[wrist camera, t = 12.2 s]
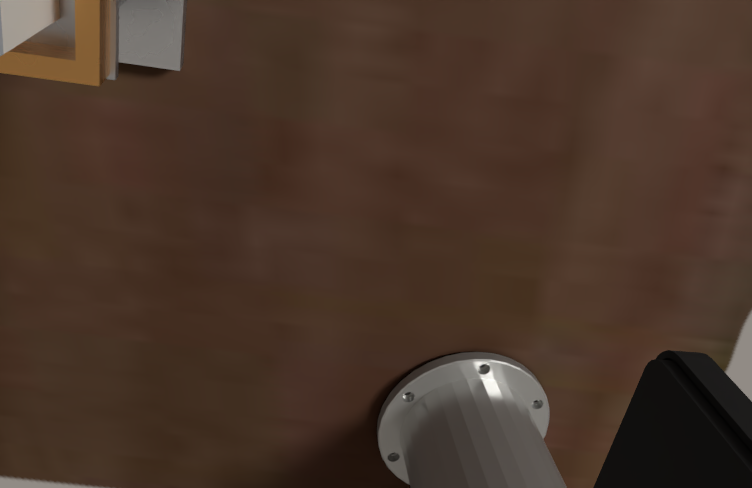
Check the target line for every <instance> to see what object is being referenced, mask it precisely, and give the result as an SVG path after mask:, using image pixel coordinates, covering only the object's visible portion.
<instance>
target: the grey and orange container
mask: <svg viewBox="0 0 752 488" xmlns="http://www.w3.org/2000/svg"><path fill="white" fill-rule="evenodd" d="M186 5H187V0H59V7H60V19H58V20H57V21H55V22H54V23H52V24H50V25H49V26H47V27H46V28H44V29H43V30H41V31H39V32H38V33H36V34H35V35H33V36H32V37H30V38H28V39H27V40H25V41H24V42H22V43H21V44H19V45H17V46H16V47H14V48H13V49H11V50H10V51H8V52H6V53H5V54H3V55H2V56H0V73H5V74H12V75H20V76H27V77H34V78H42V79H49V80H56V81H64V82H71V83H78V84H86V85H93V86H100V85H101V84H102V83H103V82H104V80H105V79H111V80H116V79H117V77H118V65H119V62H121V63H128V64H135V65H142V66H149V67H156V68H163V69H170V70H177V71H180V70H181V68H182V66H183V60H184V42H185V23H186Z"/></svg>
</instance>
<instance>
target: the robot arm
mask: <svg viewBox="0 0 752 488" xmlns="http://www.w3.org/2000/svg"><path fill="white" fill-rule="evenodd" d="M548 424H549V405H548V400H547V396H546V394H545V392H544V390H543V388H542V386H541V384H540V383H539V381H538V380H537V379H536V377H535V376H534V374H533V373H532V372H530V371H529V370H528V369H527V368H526V367H525V366H524V365H522V364H520V363H518V362H516V361H515V360H513V359H511V358H508V357H505V356H501V355H498V354H494V353H485V352H466V353H459V354H454V355H449V356H445V357H442V358H439V359H437V360H434V361H431V362H429V363H427V364H425V365H423V366H421V367H420V368H418V369H416V370H414V371H413V372H412V373H410V374H409V375H408V376H407V377H405V378H404V379H403V380H401V381H400V382H399V384H398V385H397V386H396V387H395V388H394V389H393V390H392V391H391V392H390V394H389V396H388V397H387V399H386V400H385V402H384V404H383V406H382V408H381V411H380V414H379V417H378V423H377V438H378V445H379V449H380V452H381V456H382V458H383V460H384V462H385V464H386V465H387V467H388V468H389V469H390V470H391V471H392V473H393V474H394V475H395V476H396V477H398V478H399V479H401V480H402V481H404V482H405V483H407V484H408V485H410V488H567V487H566V485H565V483H564V481H563V479H562V477H561V475H560V473H559V471H558V469H557V467H556V465H555V463H554V461H553V459H552V457H551V454H550V452H549V450H548V448H547V446H546V444H545V442H544V440H543V439H544V437H545V435H546V432H547V428H548ZM594 488H752V402H751V401H750V399H748V397H747V396H746V395H745V394H744V393H743V392H742V391H741V390H740V389H739V388H738V386H737V385H736V384H735V383H734V382H733V381H732V380H731V379H730V378H729V377H728V376H727V375H726V374H725V372H724V371H723V370H722V369H721V368H720V367H719V366H718V365H717V364H716V363H715V362H714V361H713V359H712V358H710V357H709V356H708V355H706V354H703V353H696V352H683V351H670V350H668V351H664V352H662V353H661V354H659V355H658V356H657V358H656V359H655V360H651V361H650V362H649V363H648V364H647V366H646V367H645V369H644V372H643V374H642V376H641V379H640V381H639V383H638V386H637V388H636V390H635V392H634V395H633V397H632V399H631V402H630V404H629V406H628V409H627V411H626V413H625V416H624V418H623V420H622V423H621V425H620V427H619V430H618V432H617V434H616V437H615V439H614V441H613V444H612V446H611V448H610V450H609V453H608V455H607V457H606V460H605V462H604V464H603V467H602V469H601V471H600V474H599V476H598V478H597V481H596V483H595V485H594Z"/></svg>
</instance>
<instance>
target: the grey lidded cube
mask: <svg viewBox="0 0 752 488" xmlns="http://www.w3.org/2000/svg"><path fill="white" fill-rule="evenodd" d="M58 19H60V7H59V0H0V56H2V55H3V54H5V53H6V52H8V51H10V50H11V49H13V48H14V47H16V46H17V45H19V44H21V43H22V42H24V41H25V40H27V39H28V38H30V37H32V36H33V35H35V34H36V33H38V32H39V31H41V30H43V29H44V28H46V27H47V26H49V25H50V24H52V23H54V22H55V21H57V20H58Z"/></svg>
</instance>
